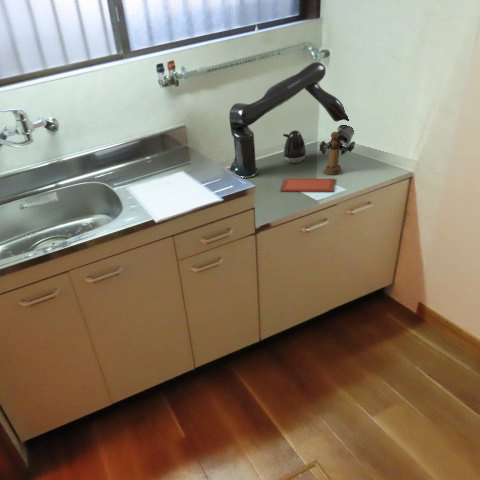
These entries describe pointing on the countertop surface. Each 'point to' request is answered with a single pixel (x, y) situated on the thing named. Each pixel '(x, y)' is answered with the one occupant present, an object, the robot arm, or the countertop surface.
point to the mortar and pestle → (333, 157)
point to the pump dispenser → (294, 147)
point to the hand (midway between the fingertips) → (332, 152)
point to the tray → (308, 185)
